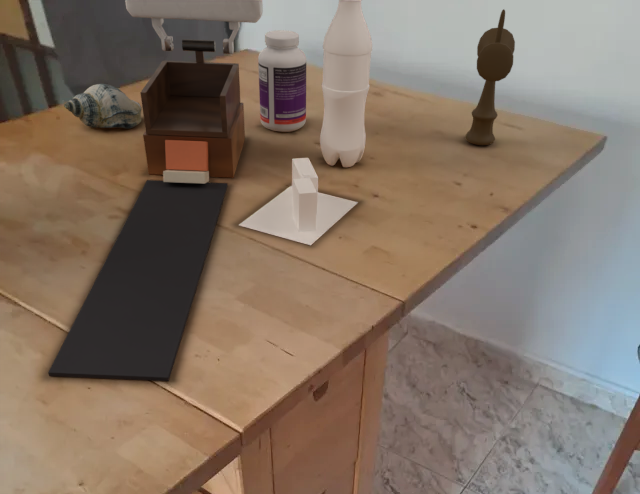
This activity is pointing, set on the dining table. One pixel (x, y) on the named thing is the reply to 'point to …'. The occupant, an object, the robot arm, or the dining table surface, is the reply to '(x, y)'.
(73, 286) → the dining table surface
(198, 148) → the block
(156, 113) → the scoop
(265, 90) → the pill bottle
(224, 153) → the stand
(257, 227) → the napkin holder
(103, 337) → the mat
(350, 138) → the water bottle
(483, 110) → the kendama
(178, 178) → the block
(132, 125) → the seashell
